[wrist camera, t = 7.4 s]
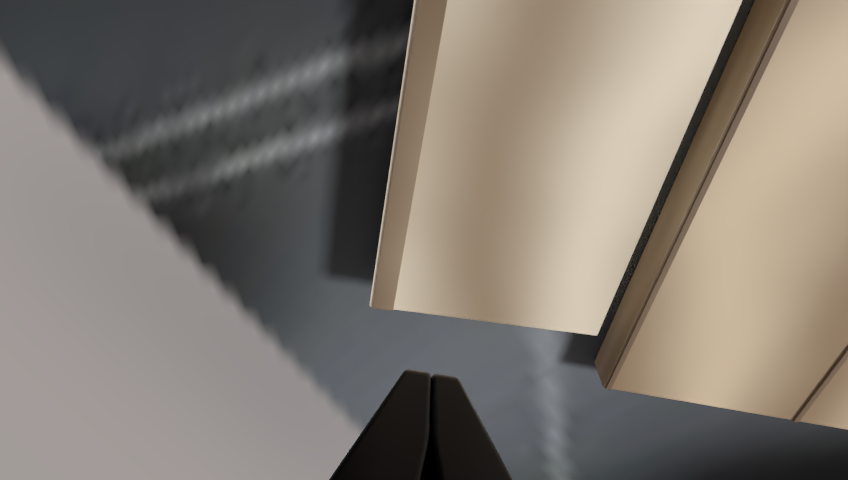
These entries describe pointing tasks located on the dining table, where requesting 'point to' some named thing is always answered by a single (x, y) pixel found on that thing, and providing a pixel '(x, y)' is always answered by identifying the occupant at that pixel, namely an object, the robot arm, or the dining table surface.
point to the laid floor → (753, 236)
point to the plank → (535, 151)
